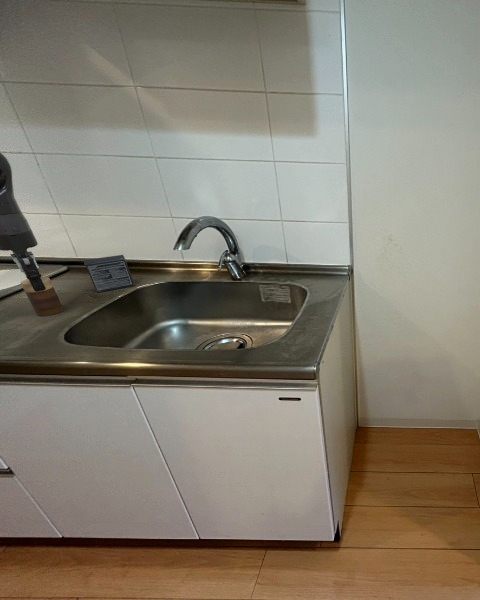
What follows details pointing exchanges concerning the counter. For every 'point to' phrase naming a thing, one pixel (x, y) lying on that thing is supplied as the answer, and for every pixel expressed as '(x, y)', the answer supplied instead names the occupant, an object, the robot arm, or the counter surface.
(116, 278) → the small box
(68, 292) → the counter surface
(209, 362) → the counter surface
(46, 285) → the beige short cylinder
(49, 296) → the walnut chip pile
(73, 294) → the counter surface
